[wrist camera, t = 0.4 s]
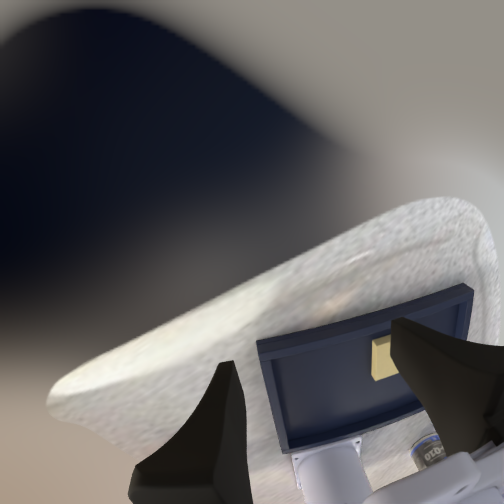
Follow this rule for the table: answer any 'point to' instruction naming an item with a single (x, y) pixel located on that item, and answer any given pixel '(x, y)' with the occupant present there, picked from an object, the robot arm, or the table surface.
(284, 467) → the table surface
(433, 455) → the pill bottle
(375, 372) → the beige square tile
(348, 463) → the robot arm
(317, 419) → the tray
